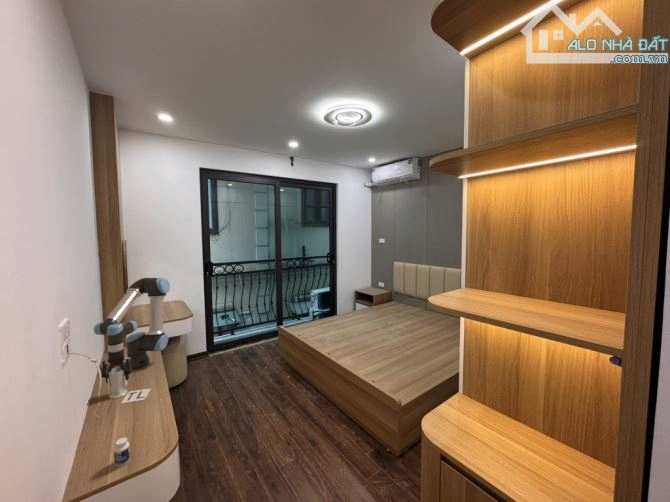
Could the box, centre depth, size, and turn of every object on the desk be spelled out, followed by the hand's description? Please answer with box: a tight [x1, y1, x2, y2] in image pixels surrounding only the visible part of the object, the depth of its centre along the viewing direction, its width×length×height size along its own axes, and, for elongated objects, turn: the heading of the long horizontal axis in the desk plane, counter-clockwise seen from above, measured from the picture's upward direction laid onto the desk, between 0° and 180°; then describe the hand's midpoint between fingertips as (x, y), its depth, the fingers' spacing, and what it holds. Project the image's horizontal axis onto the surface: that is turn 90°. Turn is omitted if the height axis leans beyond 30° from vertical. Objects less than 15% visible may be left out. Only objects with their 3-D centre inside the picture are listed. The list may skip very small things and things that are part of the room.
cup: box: [109, 366, 125, 393], centre depth 168 cm, size 8×8×12 cm
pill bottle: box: [113, 437, 131, 467], centre depth 120 cm, size 5×5×10 cm
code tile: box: [120, 388, 152, 404], centre depth 168 cm, size 12×12×1 cm
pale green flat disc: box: [108, 388, 129, 400], centre depth 169 cm, size 9×9×1 cm
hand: (117, 386), depth 168 cm, fingers closed on cup, 7 cm apart
